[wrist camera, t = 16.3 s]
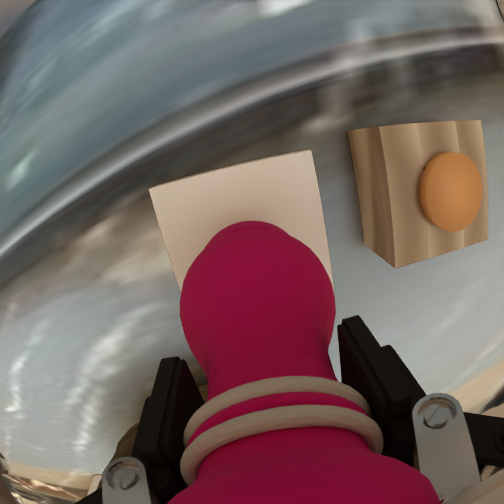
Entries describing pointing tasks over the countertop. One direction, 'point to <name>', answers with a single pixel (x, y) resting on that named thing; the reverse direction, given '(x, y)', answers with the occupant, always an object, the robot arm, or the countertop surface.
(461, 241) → the stand
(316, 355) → the pepper mill
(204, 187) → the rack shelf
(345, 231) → the countertop surface
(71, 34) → the countertop surface
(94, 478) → the water bottle
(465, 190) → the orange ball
